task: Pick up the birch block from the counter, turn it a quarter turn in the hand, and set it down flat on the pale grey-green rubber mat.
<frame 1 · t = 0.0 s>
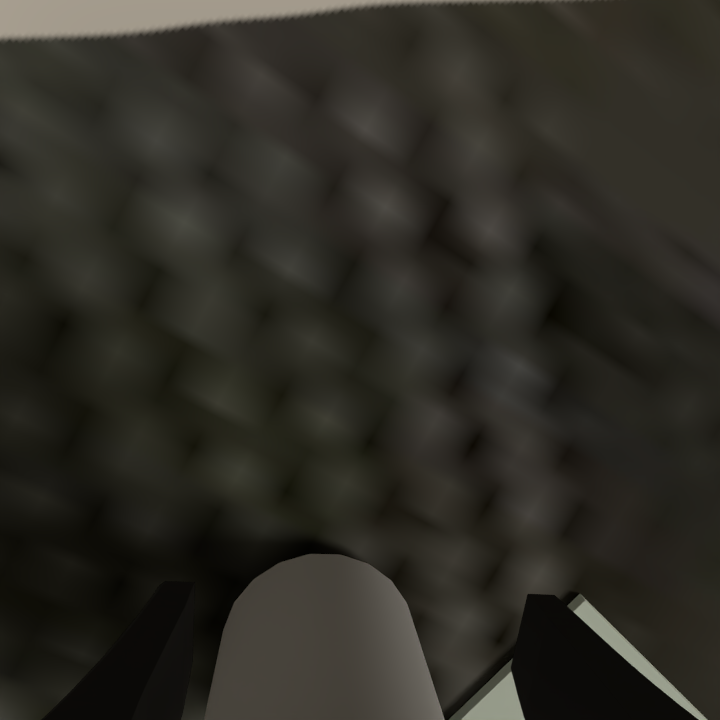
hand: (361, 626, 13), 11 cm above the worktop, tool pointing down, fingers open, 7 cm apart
can: (318, 627, 24), on the worktop
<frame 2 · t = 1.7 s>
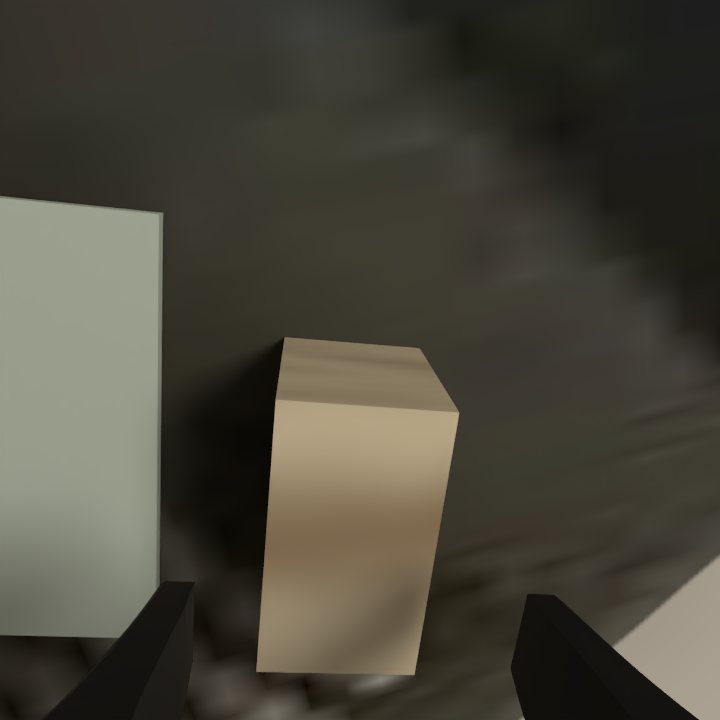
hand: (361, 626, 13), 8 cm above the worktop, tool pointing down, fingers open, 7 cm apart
birch block: (340, 452, 20), on the worktop
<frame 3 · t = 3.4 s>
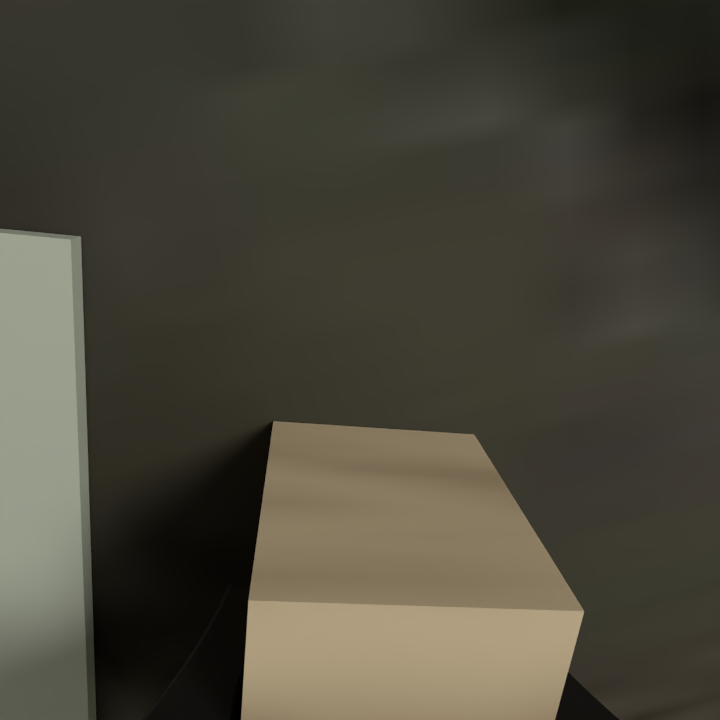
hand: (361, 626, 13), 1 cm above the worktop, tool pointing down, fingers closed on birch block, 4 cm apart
birch block: (356, 582, 14), on the worktop, touching gripper
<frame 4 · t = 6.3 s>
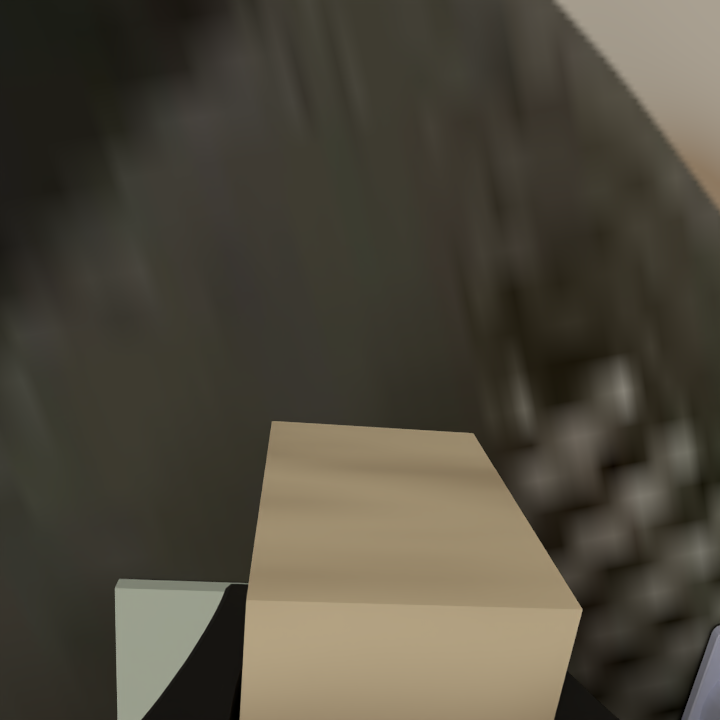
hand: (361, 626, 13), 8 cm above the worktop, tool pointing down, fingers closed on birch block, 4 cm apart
birch block: (355, 581, 14), point 7 cm above the worktop, touching gripper
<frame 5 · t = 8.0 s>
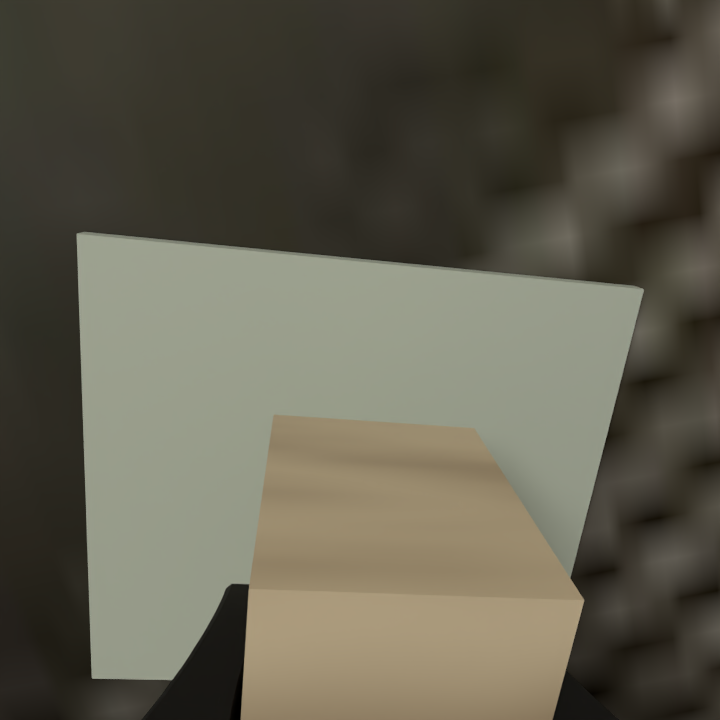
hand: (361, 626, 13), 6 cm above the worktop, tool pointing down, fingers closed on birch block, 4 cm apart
rubber mat: (347, 489, 18), on the worktop
birch block: (356, 576, 14), point 4 cm above the worktop, touching gripper
when the fingers open (3 cm above the worktop, at t = 9.2 s): birch block drops 1 cm, resting on rubber mat.
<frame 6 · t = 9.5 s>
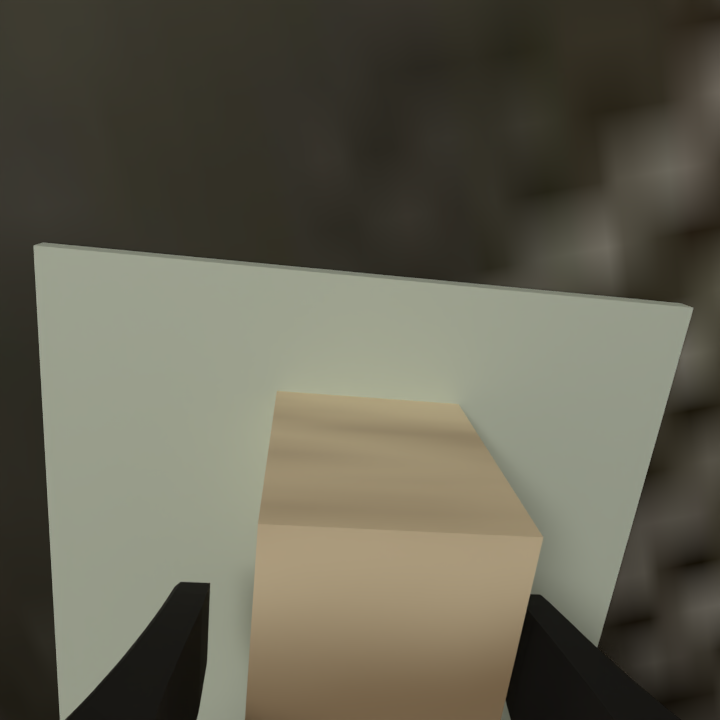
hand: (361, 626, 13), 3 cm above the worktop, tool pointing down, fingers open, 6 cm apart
rubber mat: (350, 533, 16), on the worktop
birch block: (351, 540, 15), resting on rubber mat
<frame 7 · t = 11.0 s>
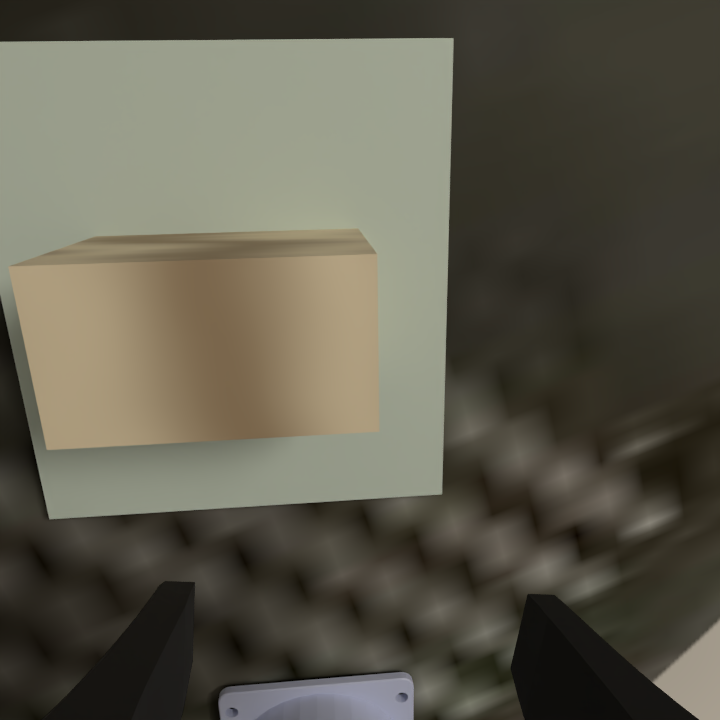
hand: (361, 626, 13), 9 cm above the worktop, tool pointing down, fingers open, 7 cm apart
rubber mat: (233, 299, 19), on the worktop
birch block: (234, 302, 19), resting on rubber mat
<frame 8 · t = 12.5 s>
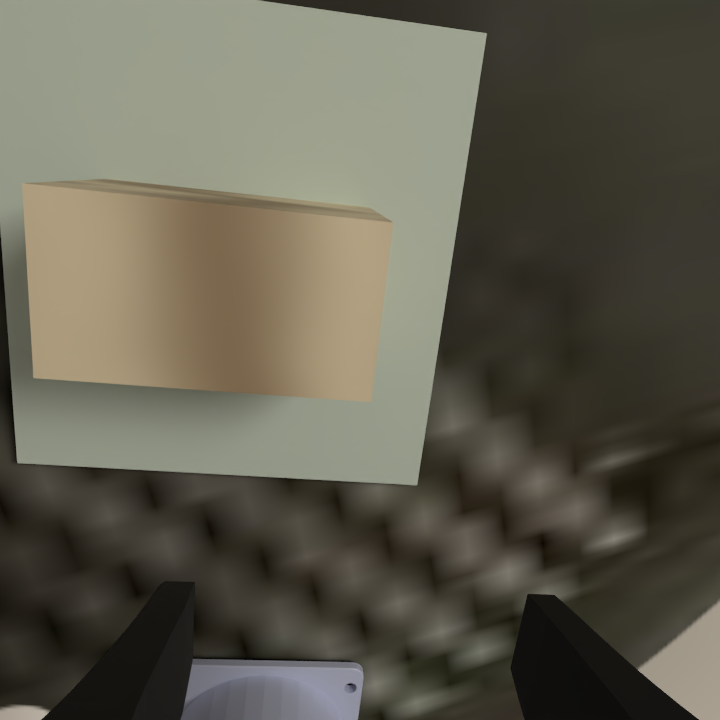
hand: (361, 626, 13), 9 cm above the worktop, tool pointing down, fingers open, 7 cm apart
rubber mat: (235, 262, 19), on the worktop
birch block: (237, 264, 19), resting on rubber mat
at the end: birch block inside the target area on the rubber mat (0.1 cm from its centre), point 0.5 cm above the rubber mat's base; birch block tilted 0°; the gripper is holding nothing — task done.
